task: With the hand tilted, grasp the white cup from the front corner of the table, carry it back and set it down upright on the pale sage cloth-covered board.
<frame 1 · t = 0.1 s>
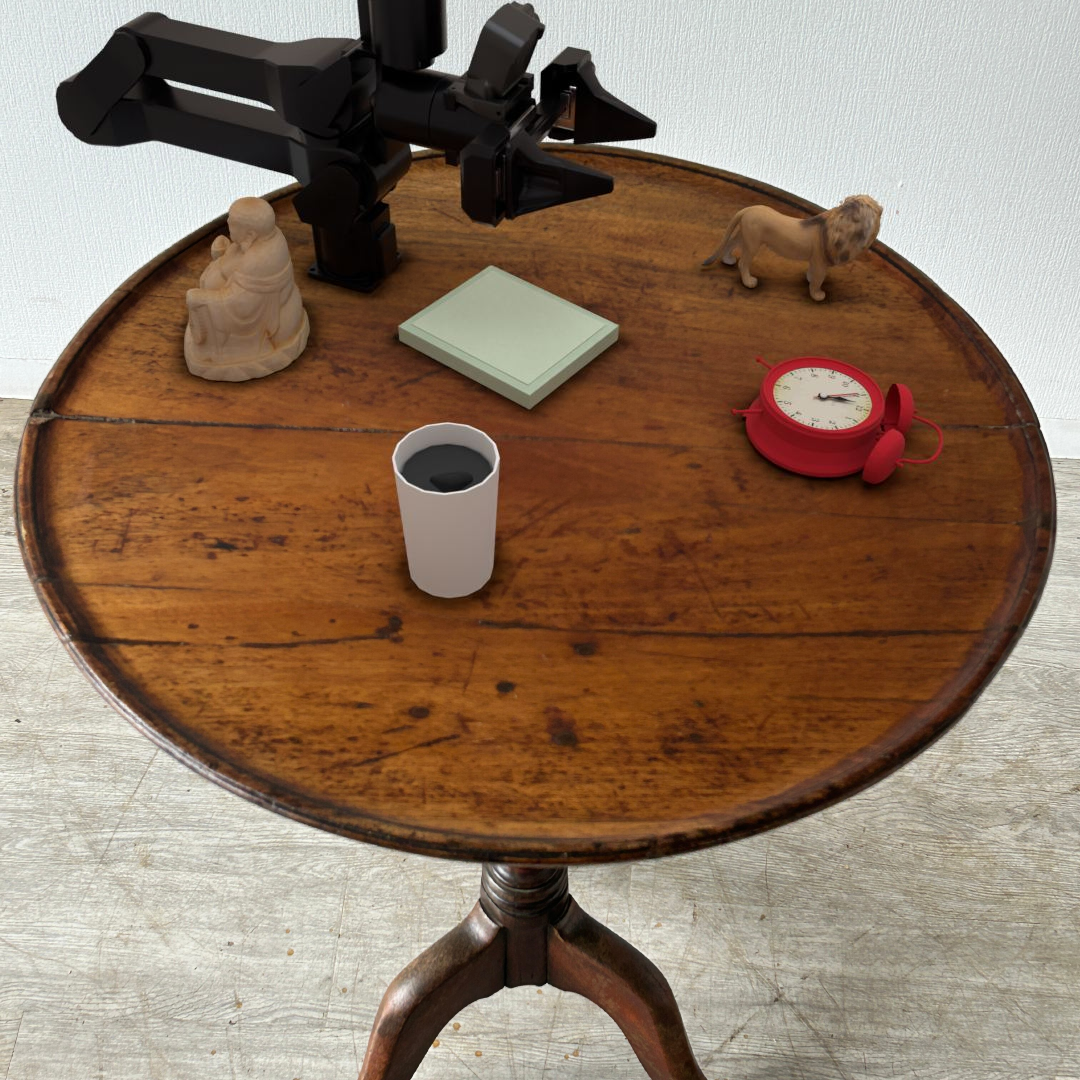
hand: (635, 156, 83), 17 cm above the table, tool horizontal, fingers open, 9 cm apart
lion figurine: (786, 281, 102), on the table
white cup: (451, 567, 77), on the table
board: (509, 340, 95), on the table
statue: (247, 339, 94), on the table
alarm clock: (833, 442, 87), on the table
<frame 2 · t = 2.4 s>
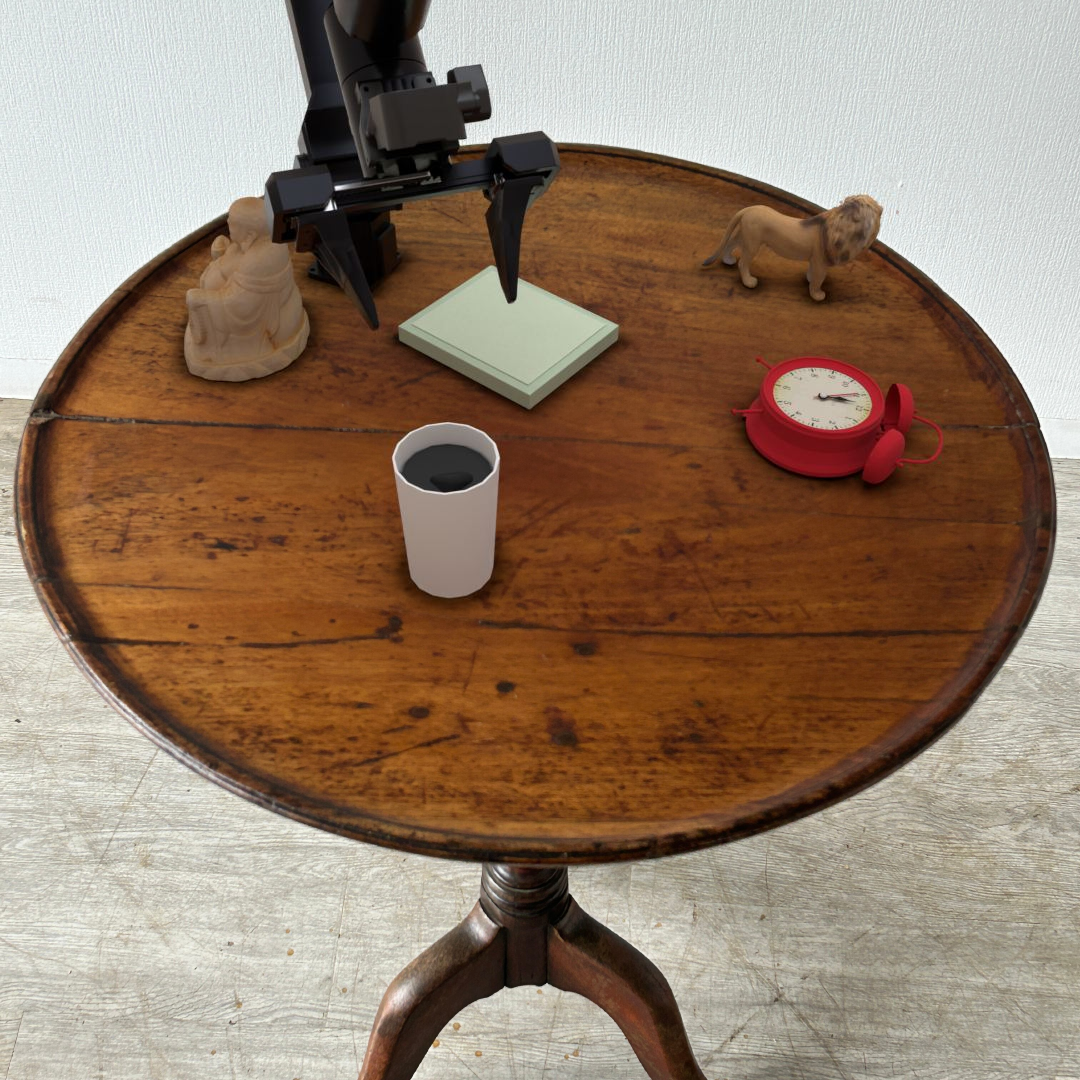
hand: (445, 315, 73), 14 cm above the table, tool tilted 50°, fingers open, 9 cm apart
nothing on the table moved.
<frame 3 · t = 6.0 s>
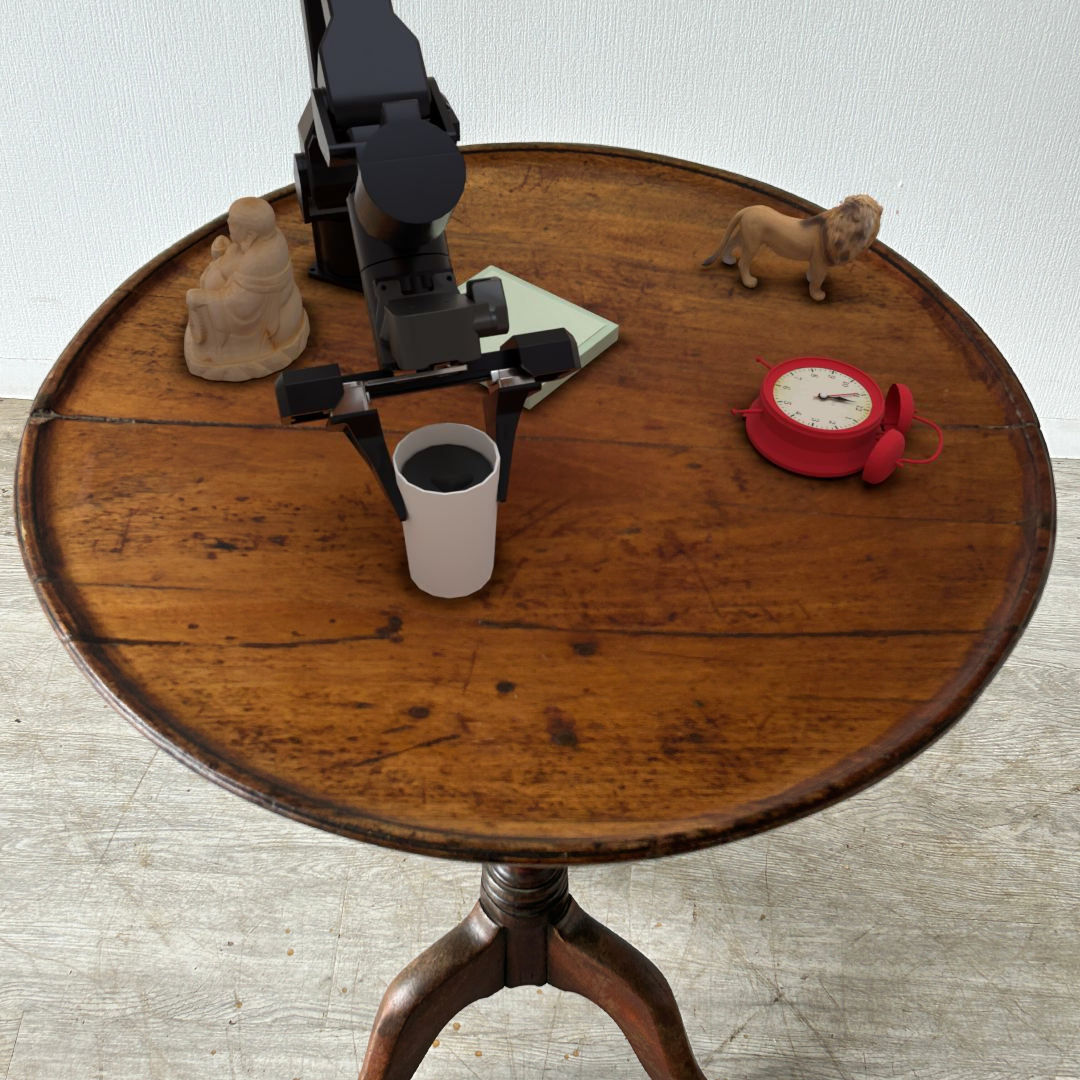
hand: (452, 511, 71), 7 cm above the table, tool tilted 45°, fingers closed on white cup, 6 cm apart
white cup: (451, 568, 77), on the table, touching gripper
everything else where it was.
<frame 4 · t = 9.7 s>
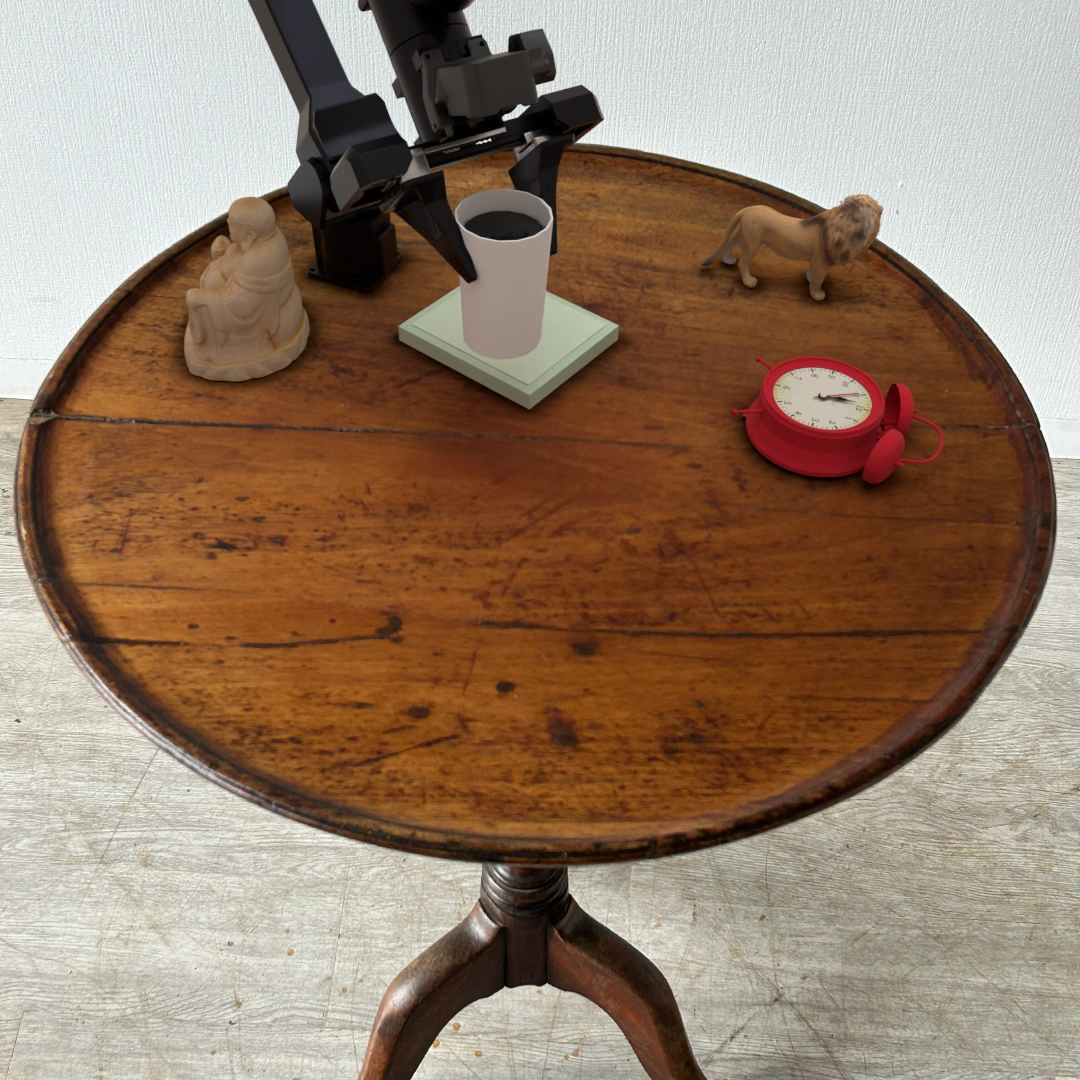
hand: (513, 268, 77), 14 cm above the table, tool tilted 45°, fingers closed on white cup, 6 cm apart
white cup: (501, 337, 83), point 7 cm above the table, touching gripper
everything else where it was.
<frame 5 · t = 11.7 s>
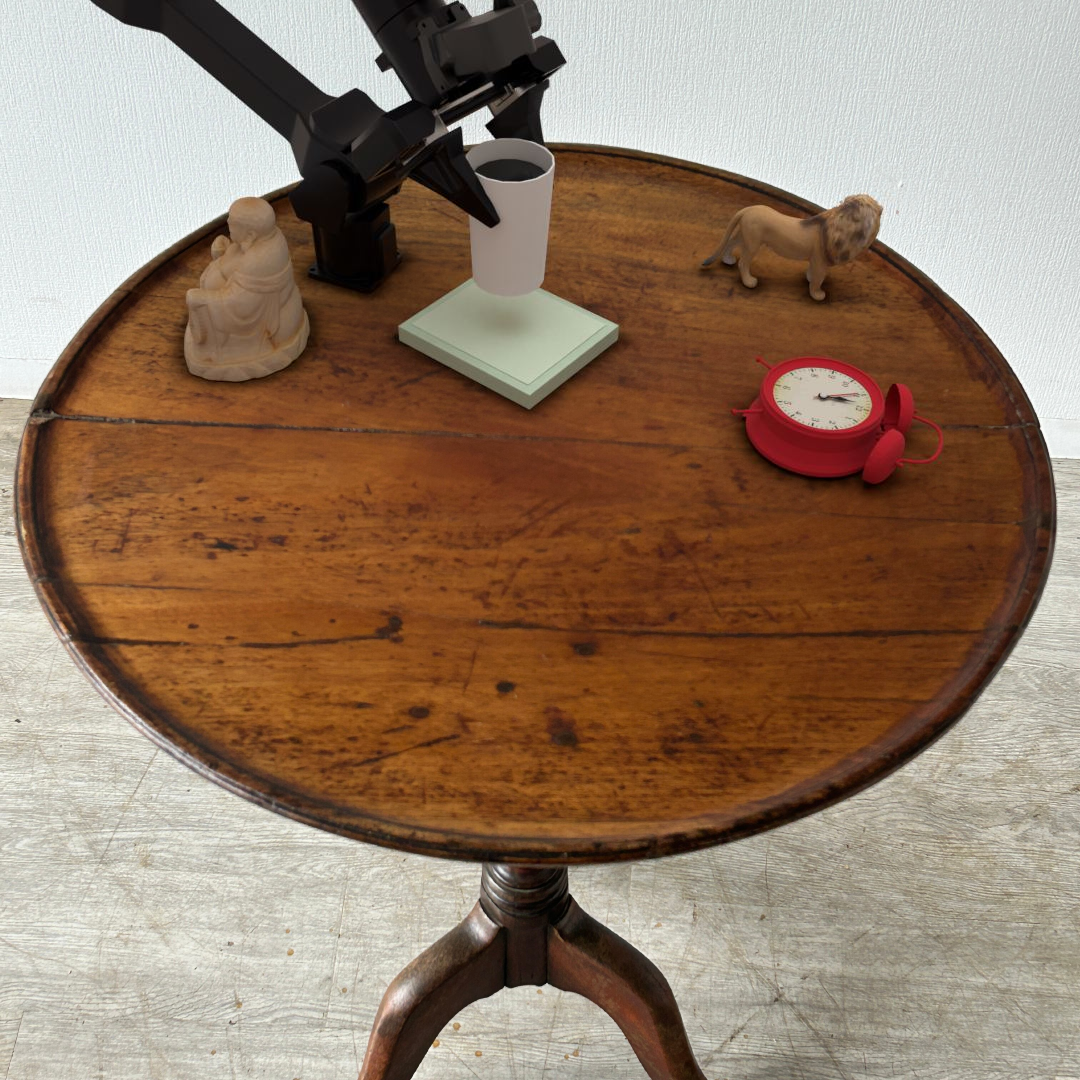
hand: (522, 208, 85), 13 cm above the table, tool tilted 45°, fingers closed on white cup, 6 cm apart
white cup: (508, 277, 90), point 6 cm above the table, touching gripper
everything else where it was.
when the fingers open (8 cm above the table, at t = 13.5 s): white cup stays where it is, resting on board.
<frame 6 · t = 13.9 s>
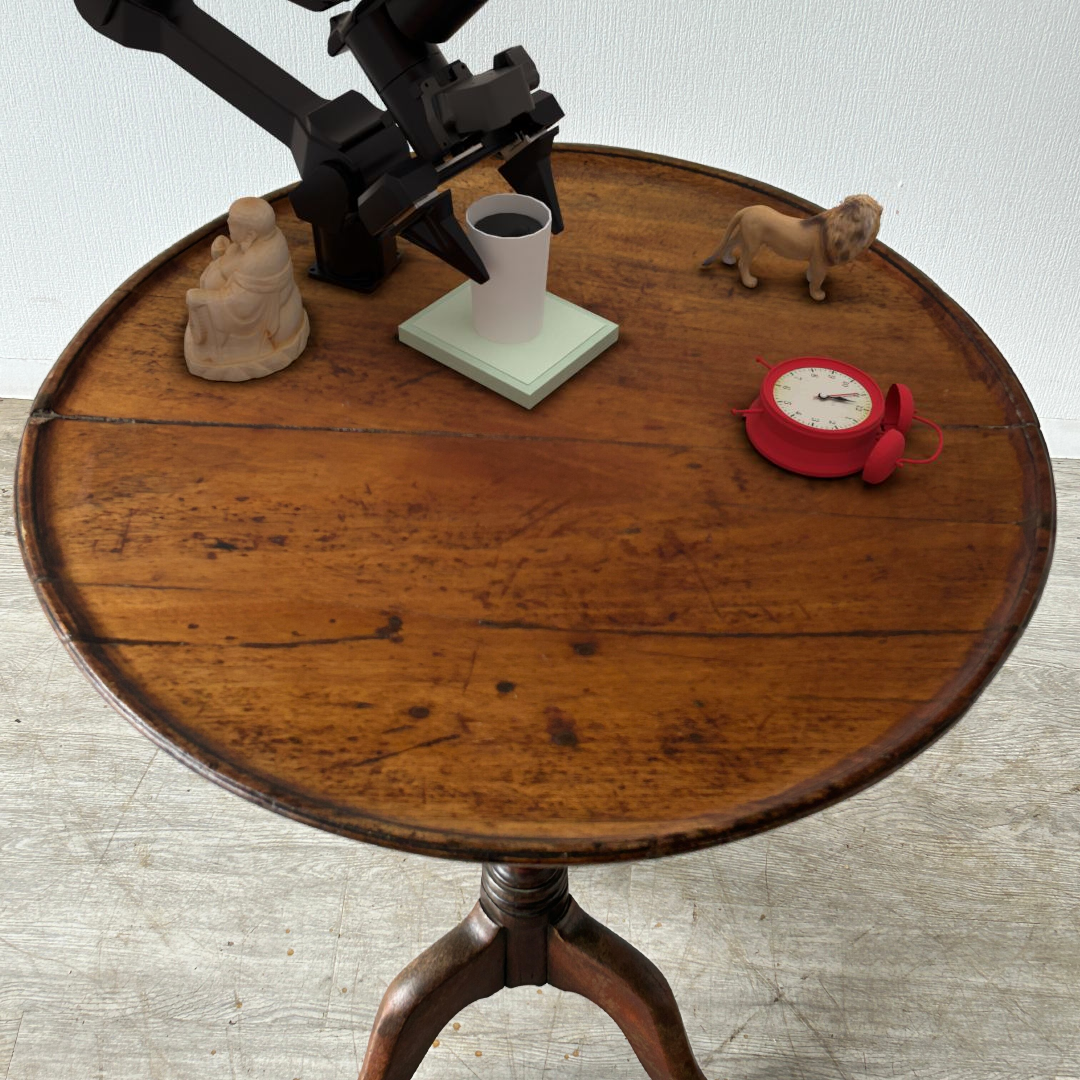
hand: (523, 256, 88), 9 cm above the table, tool tilted 45°, fingers open, 9 cm apart
white cup: (508, 325, 94), point 1 cm above the table, touching board
everything else where it was.
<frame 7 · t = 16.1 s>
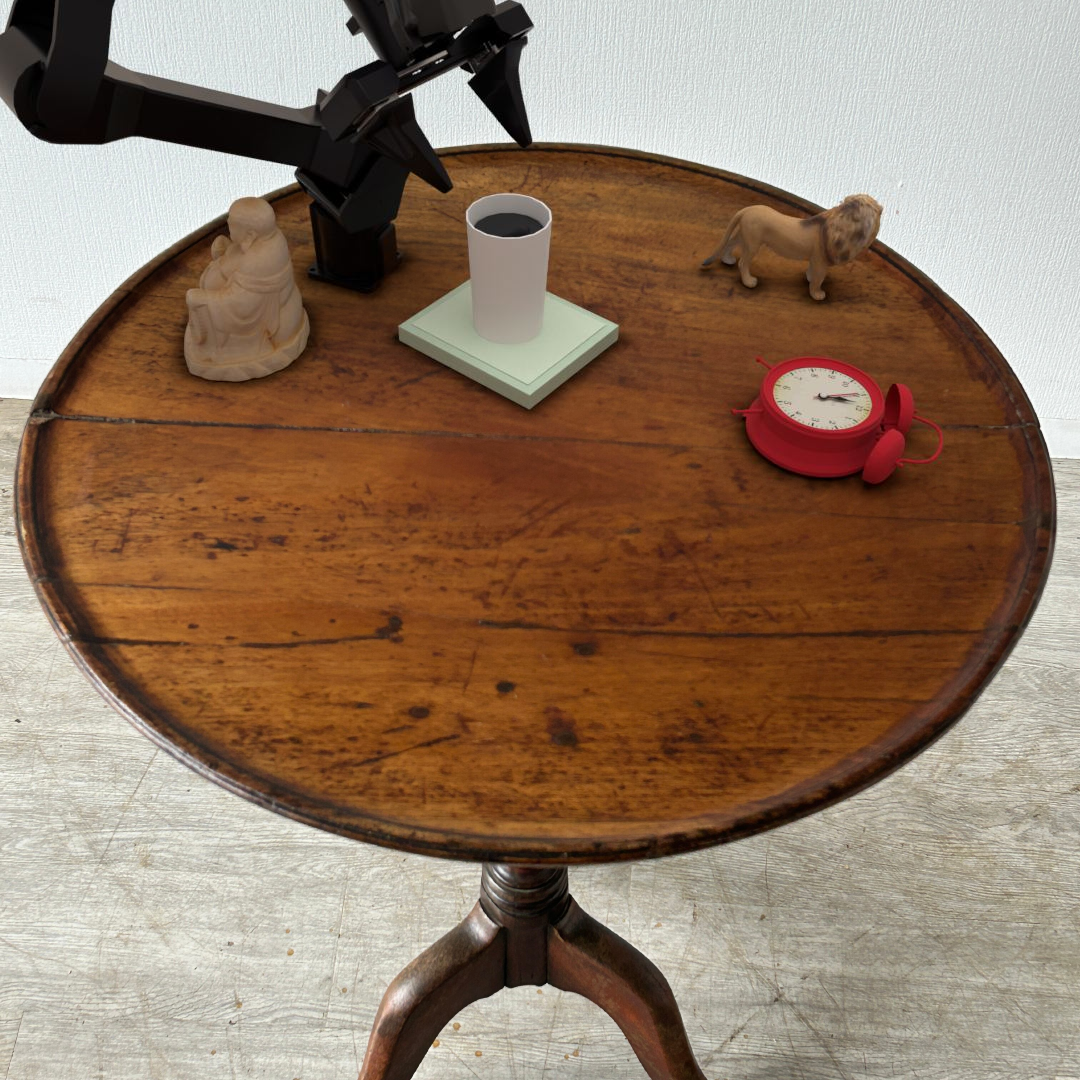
hand: (489, 167, 87), 14 cm above the table, tool tilted 45°, fingers open, 9 cm apart
nothing on the table moved.
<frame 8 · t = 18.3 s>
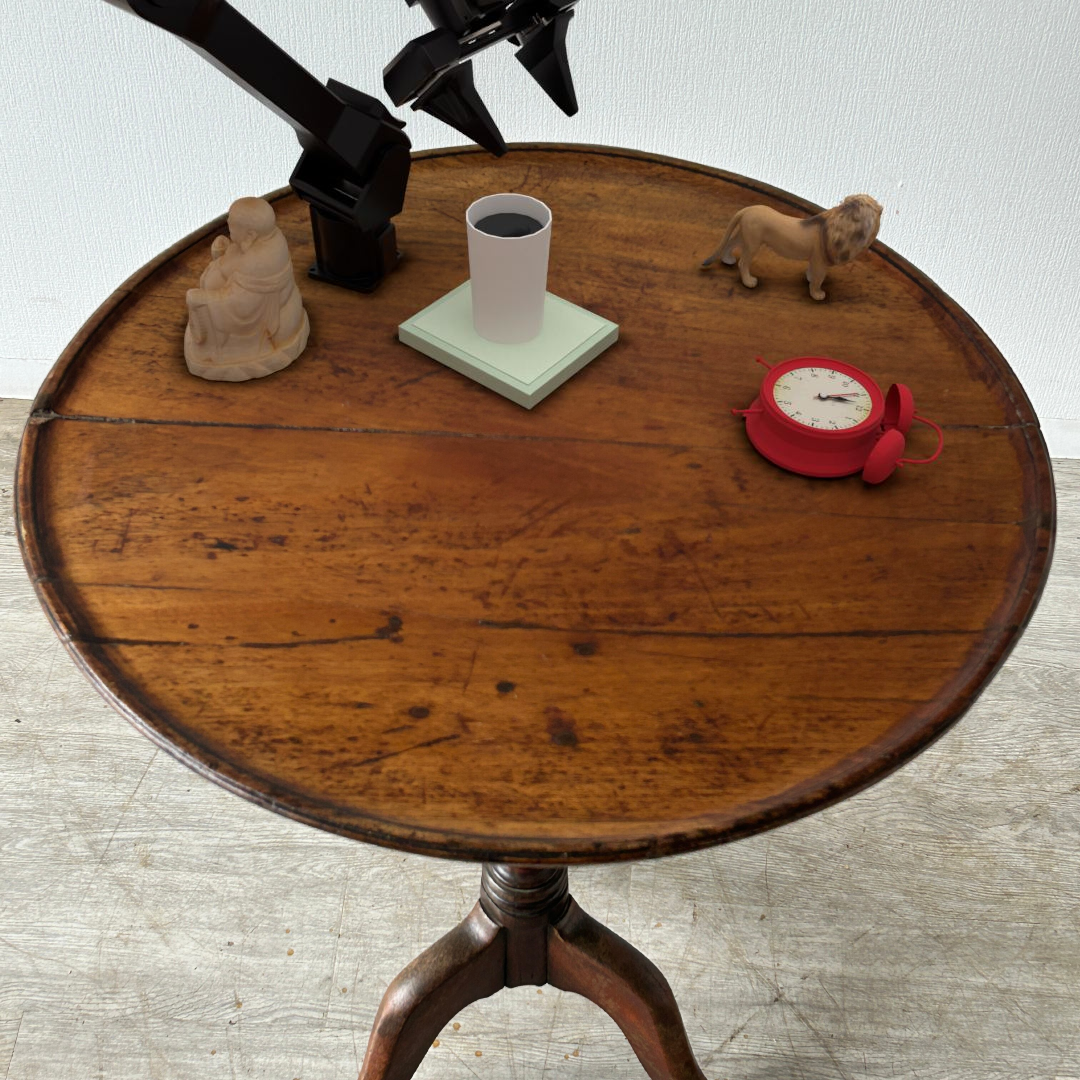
hand: (540, 134, 91), 14 cm above the table, tool tilted 45°, fingers open, 9 cm apart
nothing on the table moved.
at the end: white cup inside the target area on the board (0.1 cm from its centre), point 1.5 cm above the board's base; white cup tilted 0°; the gripper is holding nothing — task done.
